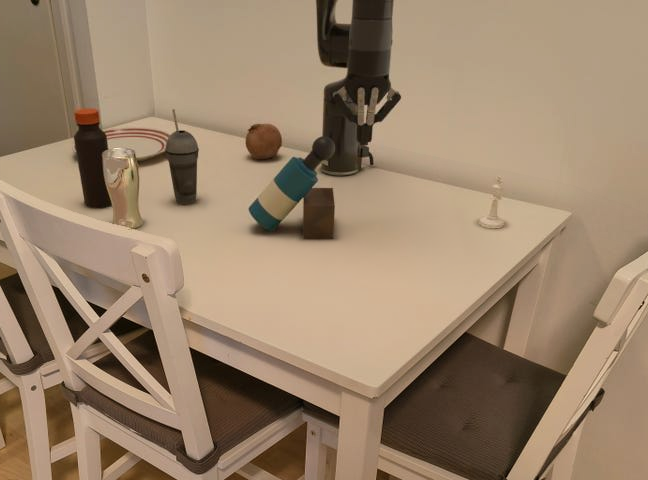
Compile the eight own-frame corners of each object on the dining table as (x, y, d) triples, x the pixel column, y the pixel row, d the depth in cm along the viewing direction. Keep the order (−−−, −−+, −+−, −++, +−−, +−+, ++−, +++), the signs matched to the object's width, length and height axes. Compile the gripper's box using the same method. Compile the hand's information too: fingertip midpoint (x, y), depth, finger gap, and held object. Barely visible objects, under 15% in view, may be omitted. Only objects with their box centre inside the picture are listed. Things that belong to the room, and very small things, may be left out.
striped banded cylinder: (247, 235, 138) (245, 141, 128) (249, 222, 144) (248, 131, 133) (331, 236, 138) (336, 141, 127) (330, 223, 143) (334, 131, 133)
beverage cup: (196, 208, 151) (190, 114, 140) (165, 206, 152) (156, 112, 141) (206, 196, 157) (200, 106, 146) (175, 194, 158) (167, 104, 147)
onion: (252, 171, 181) (234, 139, 175) (260, 152, 187) (243, 120, 181) (284, 161, 177) (267, 128, 170) (291, 142, 183) (275, 109, 176)
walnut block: (303, 238, 136) (303, 205, 133) (302, 219, 145) (303, 187, 141) (333, 239, 136) (334, 205, 132) (331, 220, 145) (332, 187, 141)
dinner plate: (169, 169, 174) (167, 156, 172) (61, 169, 174) (59, 156, 172) (182, 138, 196) (181, 126, 195) (87, 139, 197) (85, 127, 195)
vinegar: (120, 204, 153) (107, 112, 142) (90, 210, 150) (75, 116, 139) (109, 195, 158) (96, 105, 147) (80, 201, 155) (65, 109, 144)
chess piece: (490, 230, 139) (499, 182, 134) (474, 221, 143) (481, 175, 138) (508, 225, 141) (518, 178, 136) (492, 217, 145) (500, 171, 139)
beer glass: (112, 218, 146) (102, 147, 138) (145, 217, 147) (137, 146, 138) (109, 231, 140) (98, 158, 132) (143, 230, 141) (134, 157, 133)
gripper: (404, 42, 124) (395, 139, 134) (331, 42, 125) (328, 138, 134) (410, 49, 118) (400, 150, 127) (333, 49, 118) (329, 149, 128)
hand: (363, 144), depth 131 cm, fingers closed
